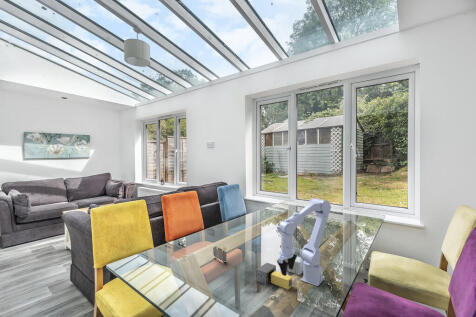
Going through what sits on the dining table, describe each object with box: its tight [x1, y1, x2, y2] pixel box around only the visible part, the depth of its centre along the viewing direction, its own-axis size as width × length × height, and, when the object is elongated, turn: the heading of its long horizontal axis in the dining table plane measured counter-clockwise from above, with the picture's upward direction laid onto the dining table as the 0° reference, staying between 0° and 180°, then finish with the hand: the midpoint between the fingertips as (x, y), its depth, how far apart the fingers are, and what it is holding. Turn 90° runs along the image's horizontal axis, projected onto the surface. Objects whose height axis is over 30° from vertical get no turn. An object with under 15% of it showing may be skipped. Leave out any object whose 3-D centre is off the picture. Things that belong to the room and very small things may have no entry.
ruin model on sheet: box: [212, 245, 227, 262], centre depth 146 cm, size 11×3×10 cm, turn 39°
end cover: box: [270, 270, 293, 290], centre depth 116 cm, size 10×5×5 cm, turn 50°
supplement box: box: [285, 255, 303, 276], centre depth 132 cm, size 7×7×13 cm
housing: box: [256, 262, 277, 286], centre depth 122 cm, size 6×10×6 cm, turn 140°
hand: (287, 271), depth 114 cm, fingers open, 7 cm apart
